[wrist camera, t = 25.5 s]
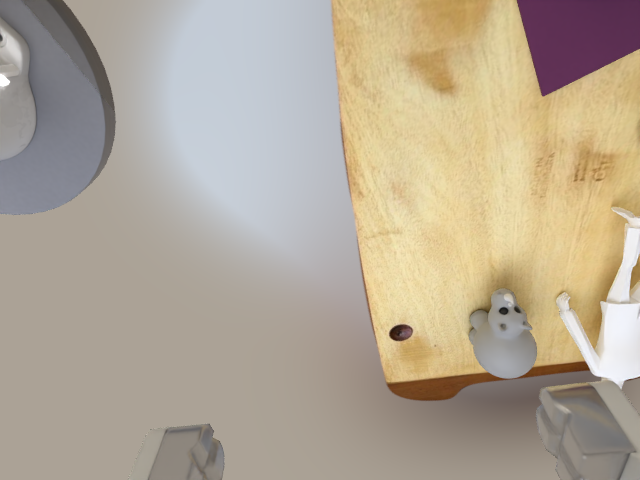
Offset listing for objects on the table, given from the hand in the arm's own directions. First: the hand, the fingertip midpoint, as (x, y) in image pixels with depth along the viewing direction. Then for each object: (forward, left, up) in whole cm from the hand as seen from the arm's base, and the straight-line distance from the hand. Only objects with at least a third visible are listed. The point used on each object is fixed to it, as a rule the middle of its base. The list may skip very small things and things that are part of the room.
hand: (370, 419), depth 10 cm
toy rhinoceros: (+34, +5, -34) cm, 49 cm away
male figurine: (+38, +19, -34) cm, 55 cm away
